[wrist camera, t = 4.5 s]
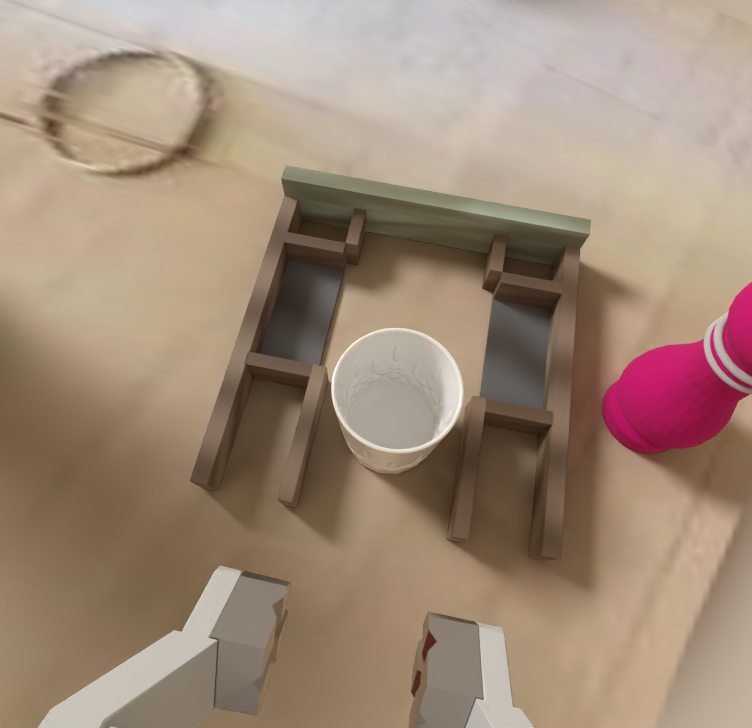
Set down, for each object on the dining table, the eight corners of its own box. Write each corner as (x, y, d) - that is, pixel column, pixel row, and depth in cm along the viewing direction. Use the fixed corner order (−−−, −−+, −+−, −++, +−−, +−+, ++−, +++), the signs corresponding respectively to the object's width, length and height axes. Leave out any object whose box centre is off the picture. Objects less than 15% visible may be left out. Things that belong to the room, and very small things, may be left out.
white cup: (361, 499, 38) (362, 475, 29) (322, 404, 41) (311, 354, 32) (457, 457, 40) (487, 421, 30) (414, 368, 42) (429, 310, 33)
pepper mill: (702, 408, 42) (976, 274, 23) (661, 479, 39) (928, 395, 21) (622, 355, 43) (818, 190, 25) (578, 421, 41) (758, 294, 22)
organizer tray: (545, 560, 37) (572, 558, 32) (202, 487, 38) (180, 475, 34) (567, 255, 47) (590, 219, 42) (293, 205, 48) (285, 165, 43)
